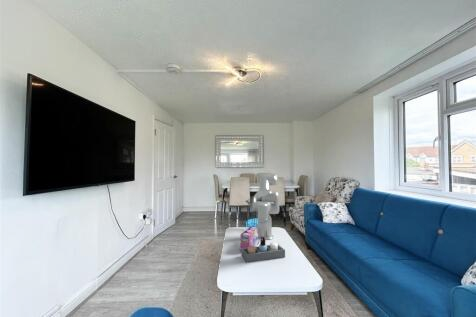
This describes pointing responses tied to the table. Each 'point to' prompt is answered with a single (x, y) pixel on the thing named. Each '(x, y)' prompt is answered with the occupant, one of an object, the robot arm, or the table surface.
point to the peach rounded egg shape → (251, 249)
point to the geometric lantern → (254, 212)
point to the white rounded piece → (273, 246)
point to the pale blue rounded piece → (263, 248)
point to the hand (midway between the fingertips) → (262, 245)
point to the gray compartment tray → (262, 254)
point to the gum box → (249, 238)
